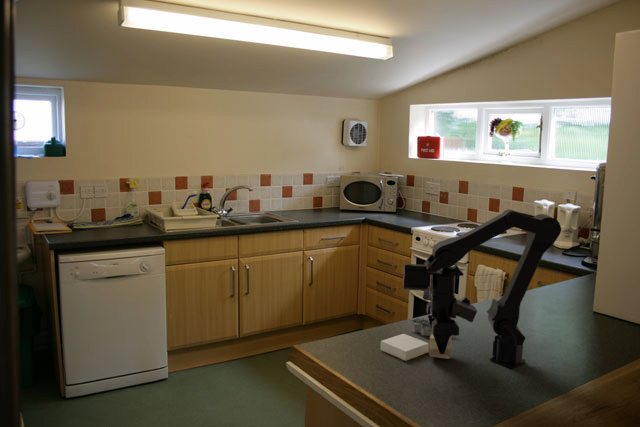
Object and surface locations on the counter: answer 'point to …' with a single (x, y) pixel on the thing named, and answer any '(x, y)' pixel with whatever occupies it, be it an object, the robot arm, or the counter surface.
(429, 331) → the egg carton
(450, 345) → the cube
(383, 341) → the base
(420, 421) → the counter surface
